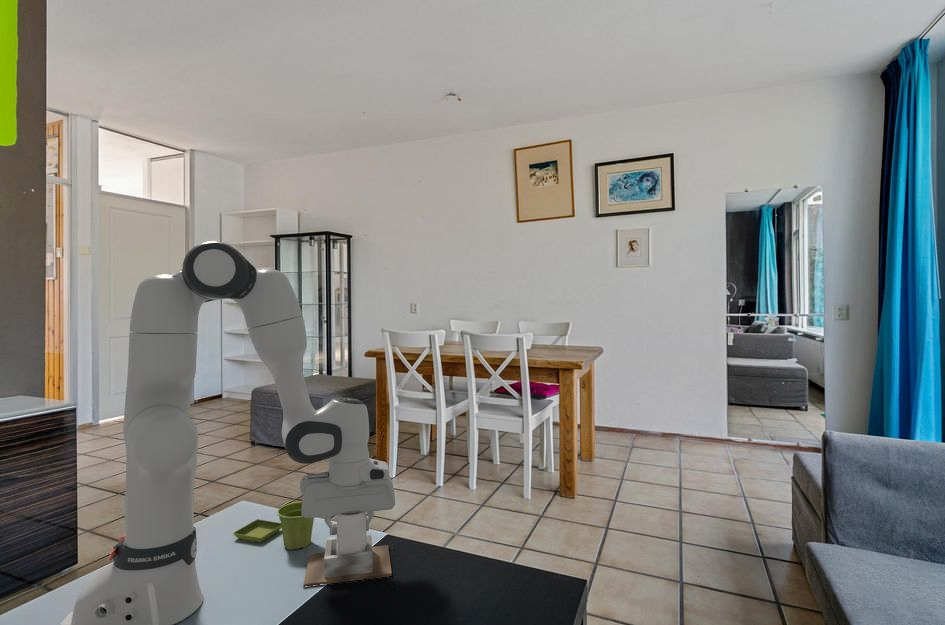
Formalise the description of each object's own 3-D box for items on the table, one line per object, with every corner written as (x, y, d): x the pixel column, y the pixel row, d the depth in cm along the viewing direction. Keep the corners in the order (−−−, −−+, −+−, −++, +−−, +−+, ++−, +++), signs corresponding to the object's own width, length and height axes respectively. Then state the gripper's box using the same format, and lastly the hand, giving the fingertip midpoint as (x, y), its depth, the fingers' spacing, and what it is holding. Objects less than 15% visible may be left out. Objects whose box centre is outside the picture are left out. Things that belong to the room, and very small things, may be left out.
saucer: (284, 531, 127) (284, 523, 127) (260, 546, 119) (260, 538, 119) (257, 526, 130) (257, 518, 130) (232, 541, 122) (232, 533, 122)
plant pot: (324, 537, 123) (324, 502, 123) (305, 555, 114) (305, 518, 114) (290, 534, 125) (290, 500, 125) (269, 552, 115) (268, 515, 115)
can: (359, 572, 105) (359, 516, 105) (331, 569, 106) (331, 514, 106) (370, 557, 111) (371, 505, 111) (344, 555, 113) (344, 503, 113)
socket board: (303, 591, 101) (303, 565, 101) (309, 560, 113) (309, 536, 113) (391, 580, 105) (391, 554, 105) (388, 551, 117) (388, 528, 117)
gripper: (298, 479, 103) (298, 544, 103) (396, 470, 108) (396, 532, 108) (301, 469, 109) (301, 531, 109) (393, 462, 114) (393, 521, 115)
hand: (349, 532), depth 109 cm, fingers open, 6 cm apart
